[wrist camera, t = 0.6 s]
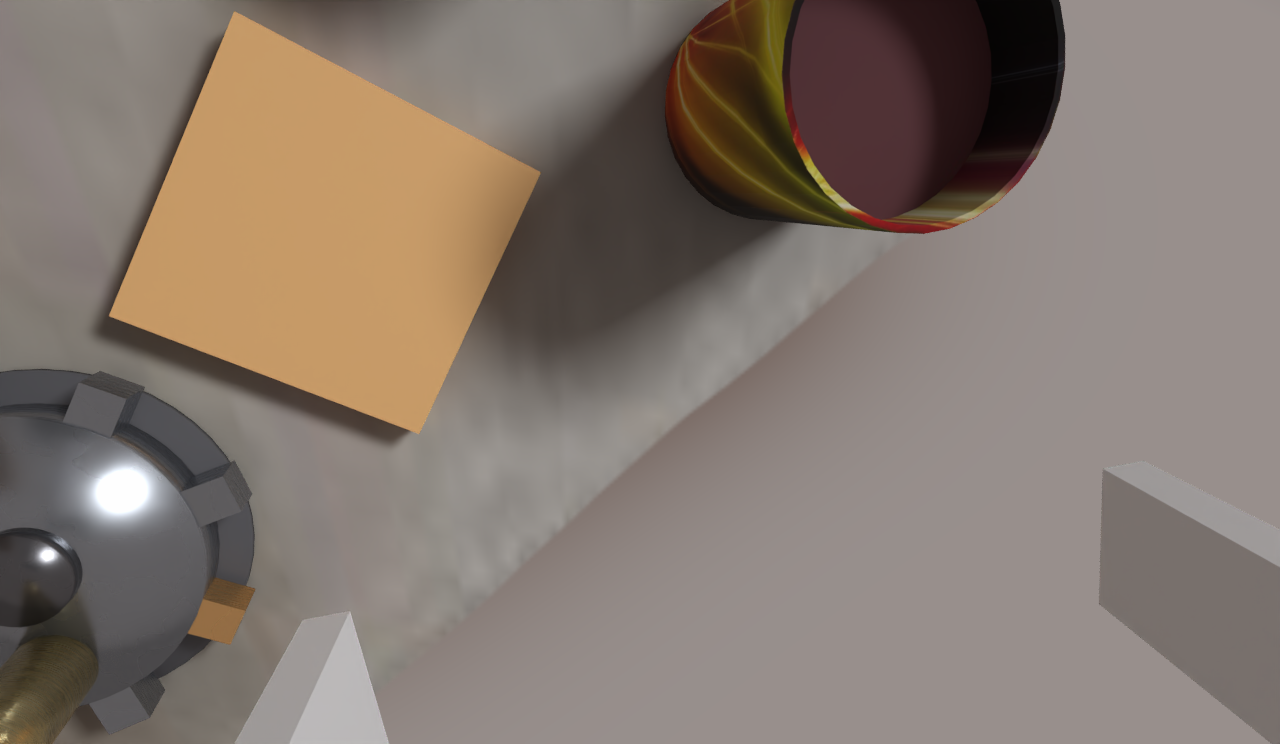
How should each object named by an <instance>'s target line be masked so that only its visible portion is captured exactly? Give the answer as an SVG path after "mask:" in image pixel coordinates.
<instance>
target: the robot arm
mask: <svg viewBox="0 0 1280 744" xmlns="http://www.w3.org/2000/svg"><path fill="white" fill-rule="evenodd" d="M1102 481H1103V482H1102V516H1101V551H1100V552H1101V553H1100V554H1101V555H1100V588H1099V604H1100V605H1101V606H1102V607H1104V608H1105V609H1106V610H1107V611H1108V612H1109V613H1111V614H1112V615H1113V616H1115V617H1116V618H1117V619H1118V620H1119V621H1121V622H1122V623H1123V624H1124V625H1126V626H1127V627H1128V628H1129V629H1131V630H1132V631H1133V632H1134V633H1135V634H1137V635H1138V636H1139V637H1140V638H1142V639H1143V640H1144V641H1145V642H1147V643H1148V644H1149V645H1150V646H1152V647H1153V648H1154V649H1155V650H1156V651H1158V652H1159V653H1160V654H1161V655H1163V656H1164V657H1165V658H1166V659H1168V660H1169V661H1170V662H1171V663H1173V664H1174V665H1175V666H1176V667H1178V668H1179V669H1180V670H1181V671H1183V672H1184V673H1185V674H1186V675H1187V676H1189V677H1190V678H1191V679H1192V680H1193V681H1195V682H1196V683H1197V684H1198V685H1200V686H1201V687H1202V688H1203V689H1205V690H1206V691H1207V692H1208V693H1210V694H1211V695H1212V696H1213V697H1214V698H1216V699H1217V700H1218V701H1219V702H1221V703H1222V704H1223V705H1224V706H1226V707H1227V708H1228V709H1230V710H1231V711H1232V712H1233V713H1234V714H1236V715H1237V716H1238V717H1239V718H1240V719H1242V720H1243V721H1244V722H1245V723H1247V724H1248V725H1249V726H1250V727H1252V728H1253V729H1254V730H1255V731H1256V732H1258V733H1259V734H1260V735H1261V736H1263V737H1264V738H1265V739H1266V740H1268V741H1269V742H1270V743H1272V744H1280V529H1278V528H1275V527H1274V526H1272V525H1270V524H1268V523H1266V522H1264V521H1262V520H1260V519H1258V518H1256V517H1254V516H1252V515H1250V514H1248V513H1246V512H1244V511H1242V510H1240V509H1238V508H1236V507H1234V506H1232V505H1230V504H1228V503H1226V502H1224V501H1222V500H1220V499H1218V498H1216V497H1214V496H1212V495H1210V494H1208V493H1206V492H1204V491H1202V490H1200V489H1198V488H1197V487H1194V486H1193V485H1191V484H1188V483H1186V482H1185V481H1183V480H1180V479H1179V478H1177V477H1175V476H1173V475H1170V474H1168V473H1167V472H1165V471H1163V470H1161V469H1159V468H1157V467H1155V466H1153V465H1151V464H1148V463H1147V462H1145V461H1141V462H1135V463H1130V464H1125V465H1119V466H1114V467H1109V468H1103V480H1102ZM234 744H389V742H388V739H387V736H386V732H385V729H384V726H383V722H382V719H381V715H380V712H379V708H378V705H377V702H376V698H375V695H374V691H373V688H372V685H371V681H370V678H369V674H368V671H367V668H366V664H365V661H364V658H363V654H362V651H361V647H360V644H359V641H358V637H357V634H356V630H355V627H354V624H353V620H352V617H351V613H350V611H347V612H342V613H337V614H331V615H326V616H321V617H316V618H310V619H305V620H302V622H301V624H300V626H299V628H298V629H297V631H296V633H295V635H294V637H293V638H292V640H291V642H290V644H289V646H288V647H287V649H286V651H285V653H284V655H283V657H282V658H281V660H280V662H279V664H278V666H277V667H276V669H275V671H274V673H273V675H272V676H271V678H270V680H269V682H268V684H267V685H266V687H265V689H264V691H263V693H262V695H261V696H260V698H259V700H258V702H257V704H256V705H255V707H254V709H253V711H252V713H251V714H250V716H249V718H248V720H247V722H246V723H245V725H244V727H243V729H242V731H241V733H240V734H239V736H238V738H237V740H236V742H235V743H234Z"/></svg>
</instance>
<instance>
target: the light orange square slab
mask: <svg viewBox="0 0 1280 744" xmlns="http://www.w3.org/2000/svg"><path fill="white" fill-rule="evenodd" d="M540 174H541V172H539V171H537V170H536V169H534V168H532V167H530V166H528V165H526V164H524V163H522V162H520V161H518V160H516V159H515V158H513V157H511V156H509V155H507V154H505V153H503V152H501V151H499V150H497V149H496V148H494V147H492V146H490V145H488V144H486V143H484V142H482V141H480V140H478V139H477V138H475V137H473V136H471V135H469V134H467V133H465V132H463V131H461V130H459V129H458V128H456V127H454V126H452V125H450V124H448V123H446V122H444V121H442V120H440V119H438V118H437V117H435V116H433V115H431V114H429V113H427V112H425V111H423V110H421V109H419V108H418V107H416V106H414V105H412V104H410V103H408V102H406V101H404V100H402V99H400V98H399V97H397V96H395V95H393V94H391V93H389V92H387V91H385V90H383V89H381V88H379V87H378V86H376V85H374V84H372V83H370V82H368V81H366V80H364V79H362V78H360V77H359V76H357V75H355V74H353V73H351V72H349V71H347V70H345V69H343V68H341V67H340V66H338V65H336V64H334V63H332V62H330V61H328V60H326V59H324V58H322V57H321V56H319V55H317V54H315V53H313V52H311V51H309V50H307V49H305V48H303V47H301V46H300V45H298V44H296V43H294V42H292V41H290V40H288V39H286V38H284V37H282V36H281V35H279V34H277V33H275V32H273V31H271V30H269V29H267V28H265V27H263V26H262V25H260V24H258V23H256V22H254V21H252V20H250V19H248V18H246V17H244V16H243V15H241V14H239V13H237V12H235V11H234V13H233V15H232V18H231V20H230V23H229V25H228V28H227V30H226V32H225V35H224V37H223V40H222V42H221V45H220V47H219V49H218V52H217V54H216V57H215V59H214V62H213V64H212V66H211V69H210V71H209V74H208V76H207V79H206V81H205V83H204V86H203V88H202V91H201V93H200V96H199V98H198V101H197V103H196V105H195V108H194V110H193V113H192V115H191V118H190V120H189V122H188V125H187V127H186V130H185V132H184V135H183V137H182V139H181V142H180V144H179V147H178V149H177V152H176V154H175V156H174V159H173V161H172V164H171V166H170V169H169V171H168V173H167V176H166V178H165V181H164V183H163V186H162V188H161V190H160V193H159V195H158V198H157V200H156V203H155V205H154V207H153V210H152V212H151V215H150V217H149V220H148V222H147V224H146V227H145V229H144V232H143V234H142V237H141V239H140V241H139V244H138V246H137V249H136V251H135V254H134V256H133V258H132V261H131V263H130V266H129V268H128V271H127V273H126V276H125V278H124V280H123V283H122V285H121V288H120V290H119V293H118V295H117V297H116V300H115V302H114V305H113V307H112V310H111V312H110V314H109V316H110V317H113V318H115V319H118V320H120V321H123V322H126V323H128V324H131V325H134V326H136V327H139V328H142V329H144V330H147V331H149V332H152V333H155V334H157V335H160V336H163V337H165V338H168V339H170V340H173V341H176V342H178V343H181V344H184V345H186V346H189V347H192V348H194V349H197V350H199V351H202V352H205V353H207V354H210V355H213V356H215V357H218V358H220V359H223V360H226V361H228V362H231V363H234V364H236V365H239V366H241V367H244V368H247V369H249V370H252V371H255V372H257V373H260V374H263V375H265V376H268V377H270V378H273V379H276V380H278V381H281V382H284V383H286V384H289V385H291V386H294V387H297V388H299V389H302V390H305V391H307V392H310V393H313V394H315V395H318V396H320V397H323V398H326V399H328V400H331V401H334V402H336V403H339V404H341V405H344V406H347V407H349V408H352V409H355V410H357V411H360V412H362V413H365V414H368V415H370V416H373V417H376V418H378V419H381V420H384V421H386V422H389V423H391V424H394V425H397V426H399V427H402V428H405V429H407V430H410V431H412V432H415V433H418V434H419V433H420V431H421V429H422V427H423V425H424V423H425V420H426V418H427V416H428V414H429V412H430V410H431V408H432V405H433V403H434V401H435V399H436V397H437V395H438V393H439V390H440V388H441V386H442V384H443V382H444V380H445V378H446V375H447V373H448V371H449V369H450V367H451V365H452V362H453V360H454V358H455V356H456V354H457V352H458V350H459V347H460V345H461V343H462V341H463V339H464V337H465V335H466V332H467V330H468V328H469V326H470V324H471V322H472V320H473V317H474V315H475V313H476V311H477V309H478V307H479V305H480V302H481V300H482V298H483V296H484V294H485V292H486V290H487V287H488V285H489V283H490V281H491V279H492V277H493V275H494V272H495V270H496V268H497V266H498V264H499V262H500V259H501V257H502V255H503V253H504V251H505V249H506V247H507V244H508V242H509V240H510V238H511V236H512V234H513V232H514V229H515V227H516V225H517V223H518V221H519V219H520V217H521V214H522V212H523V210H524V208H525V206H526V204H527V202H528V199H529V197H530V195H531V193H532V191H533V189H534V187H535V184H536V182H537V180H538V178H539V176H540Z"/></svg>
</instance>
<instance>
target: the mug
mask: <svg viewBox="0 0 1280 744" xmlns="http://www.w3.org/2000/svg"><path fill="white" fill-rule="evenodd" d="M1064 71H1065V32H1064V25H1063V19H1062V13H1061V6H1060V2H1059V0H729V1H727V2H726V3H724V4H723V5H721V6H720V7H718V8H717V9H715V10H714V11H712V12H710V13H709V14H708V15H707V16H706V17H705V18H704V19H703V20H702V21H701V22H700V23H699V24H698V25H697V26H695V27H694V28H693V30H692V31H691V33H690V34H689V35H688V37H687V38H686V40H685V41H684V43H683V44H682V46H681V47H680V49H679V52H678V54H677V56H676V58H675V61H674V63H673V65H672V68H671V71H670V76H669V80H668V84H667V89H666V101H665V118H666V126H667V133H668V138H669V141H670V144H671V147H672V151H673V154H674V157H675V159H676V161H677V162H678V164H679V166H680V168H681V170H682V172H683V173H684V175H685V177H686V178H687V179H688V180H689V182H690V183H691V184H692V185H693V186H694V188H695V189H696V190H697V191H698V192H699V193H700V194H701V195H702V196H704V197H705V198H706V199H707V200H709V201H710V202H711V203H712V204H714V205H715V206H717V207H719V208H721V209H723V210H725V211H727V212H729V213H731V214H735V215H738V216H742V217H746V218H750V219H760V220H771V221H781V222H791V223H802V224H812V225H822V226H832V227H843V228H853V229H863V230H874V231H884V232H894V233H919V234H920V233H921V234H925V233H930V232H935V231H939V230H945V229H950V228H952V227H955V226H957V225H959V224H962V223H964V222H967V221H969V220H971V219H974V218H976V217H977V216H979V215H980V214H982V213H983V212H984V211H986V210H987V209H988V208H990V207H992V206H993V205H995V204H996V203H998V202H999V201H1000V200H1001V199H1002V198H1003V197H1004V196H1005V195H1006V194H1007V193H1008V192H1009V191H1010V190H1011V189H1012V188H1013V187H1014V186H1015V185H1016V184H1017V183H1018V182H1019V181H1020V179H1021V178H1022V177H1023V175H1024V174H1025V173H1026V171H1027V169H1028V168H1029V167H1030V165H1031V164H1032V163H1033V161H1034V160H1035V159H1036V157H1037V155H1038V153H1039V151H1040V149H1041V147H1042V145H1043V143H1044V141H1045V139H1046V137H1047V135H1048V133H1049V131H1050V129H1051V126H1052V123H1053V120H1054V116H1055V113H1056V110H1057V107H1058V103H1059V101H1060V96H1061V90H1062V83H1063V77H1064Z"/></svg>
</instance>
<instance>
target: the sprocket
mask: <svg viewBox="0 0 1280 744" xmlns="http://www.w3.org/2000/svg"><path fill="white" fill-rule="evenodd" d="M144 388H145V387H143V386H140V385H138V384H135V383H132V382H129V381H126V380H124V379H121V378H118V377H115V376H112V375H110V374H107V373H104V372H101V371H99V372H97V373H96V374H94V375H92V376H90V377H88V378H86V379H84V380H82V381H81V382H79V383H78V386H77V388H76V390H75V393H74V395H73V398H72V400H71V403H70V405H69V406H67V405H59V404H43V403H32V404H13V405H7V406H1V407H0V744H53V742H54V741H55V739H56V738H57V736H58V735H59V734H60V732H61V731H62V729H63V728H64V726H65V725H66V724H67V722H68V721H69V719H70V718H71V716H72V715H73V714H74V712H75V711H76V709H77V708H78V706H82V705H87V704H89V705H90V707H91V708H92V710H93V711H94V713H95V714H96V716H97V717H98V719H99V720H100V722H101V723H102V725H103V726H104V728H105V729H106V731H107V732H108V734H109V735H110V734H112V733H114V732H117V731H119V730H122V729H124V728H126V727H129V726H131V725H134V724H136V723H138V722H141V721H143V720H146V719H148V718H150V717H151V715H152V713H153V711H154V709H155V707H156V706H157V704H158V702H159V700H160V698H161V697H162V695H163V693H164V691H165V689H164V688H163V686H162V684H161V683H160V681H159V679H158V678H157V676H156V675H155V673H154V670H155V669H156V668H157V667H159V666H160V665H161V664H162V663H163V662H164V661H165V660H166V659H167V658H168V657H169V656H170V655H171V654H172V653H173V652H174V651H175V650H176V648H177V647H178V646H179V644H180V643H181V642H182V640H183V639H184V638H185V636H186V635H187V633H188V634H192V635H195V636H199V637H203V638H207V639H211V640H214V641H218V642H222V643H226V644H229V645H230V644H231V642H232V640H233V637H234V635H235V633H236V631H237V629H238V627H239V624H240V622H241V620H242V618H243V616H244V613H245V611H246V609H247V607H248V605H249V602H250V600H251V598H252V596H253V594H254V591H255V589H254V588H251V587H247V586H244V585H241V584H237V583H234V582H230V581H227V580H223V579H220V578H216V574H217V568H218V563H219V549H220V541H219V533H218V525H217V521H218V520H220V519H223V518H226V517H228V516H231V515H233V514H236V513H239V512H241V511H242V510H243V508H244V507H245V505H246V503H247V502H248V500H249V498H250V497H251V495H252V493H251V491H250V489H249V487H248V485H247V483H246V481H245V479H244V477H243V475H242V474H241V472H240V470H239V468H238V466H237V464H236V462H235V461H232V462H229V463H227V464H224V465H221V466H219V467H216V468H213V469H210V470H208V471H205V472H202V473H200V474H197V475H194V474H193V473H192V471H191V470H190V469H189V468H188V467H187V466H186V464H185V463H184V462H183V461H182V460H181V459H180V458H179V457H178V456H177V455H176V454H174V453H173V452H172V451H171V450H170V449H169V448H168V447H167V446H165V445H164V444H162V443H161V442H160V441H158V440H157V439H155V438H154V437H153V436H151V435H150V434H148V433H146V432H144V431H142V430H141V429H139V428H137V427H135V426H133V425H131V424H129V423H130V421H131V419H132V416H133V414H134V411H135V409H136V407H137V404H138V402H139V400H140V397H141V395H142V392H143V390H144Z"/></svg>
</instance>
